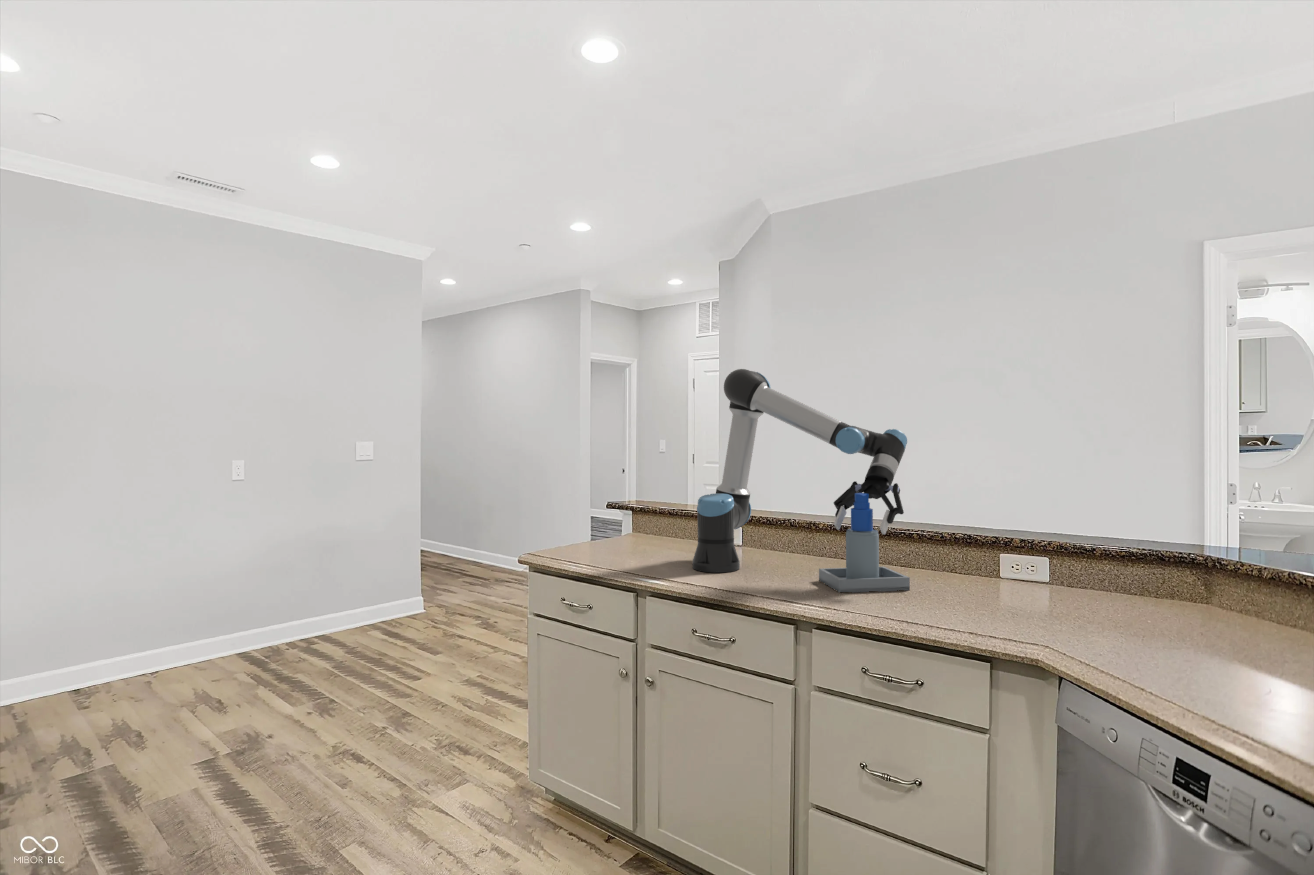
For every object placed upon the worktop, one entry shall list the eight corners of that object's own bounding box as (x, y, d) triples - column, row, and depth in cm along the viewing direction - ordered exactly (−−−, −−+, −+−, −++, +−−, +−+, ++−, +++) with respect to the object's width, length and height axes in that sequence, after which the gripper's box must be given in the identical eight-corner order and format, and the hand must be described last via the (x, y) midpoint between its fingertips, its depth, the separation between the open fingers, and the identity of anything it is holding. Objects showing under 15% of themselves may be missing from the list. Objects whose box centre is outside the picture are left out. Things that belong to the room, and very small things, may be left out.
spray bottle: (843, 577, 188) (842, 492, 188) (874, 578, 187) (874, 491, 187) (849, 584, 179) (848, 494, 179) (882, 585, 178) (882, 494, 178)
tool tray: (819, 580, 189) (818, 568, 189) (883, 578, 192) (883, 566, 192) (839, 592, 174) (839, 579, 174) (909, 590, 177) (909, 577, 177)
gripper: (927, 483, 186) (906, 541, 175) (846, 479, 203) (823, 532, 192) (920, 465, 182) (898, 524, 171) (838, 463, 199) (814, 516, 188)
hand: (858, 529), depth 181 cm, fingers open, 13 cm apart
